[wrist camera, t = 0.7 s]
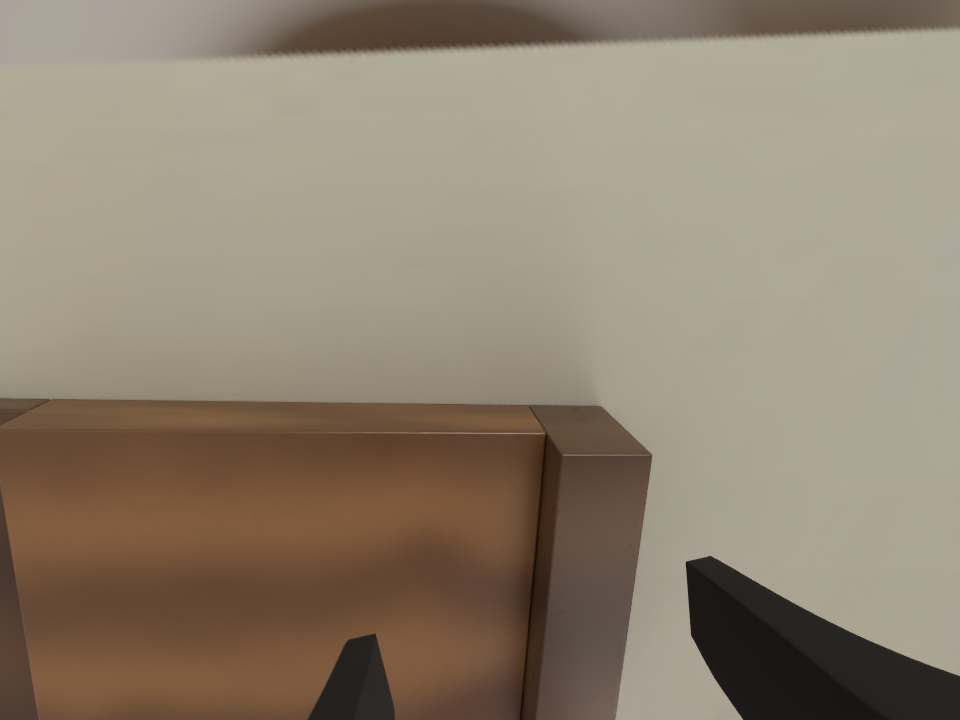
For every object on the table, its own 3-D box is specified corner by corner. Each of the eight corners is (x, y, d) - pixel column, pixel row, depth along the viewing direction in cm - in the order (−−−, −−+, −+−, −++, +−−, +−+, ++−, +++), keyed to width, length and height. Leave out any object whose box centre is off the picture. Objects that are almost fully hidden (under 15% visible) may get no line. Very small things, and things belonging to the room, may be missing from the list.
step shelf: (571, 667, 25) (609, 768, 20) (8, 699, 22) (-98, 827, 17) (601, 405, 22) (653, 454, 17) (-45, 397, 19) (-191, 454, 14)
